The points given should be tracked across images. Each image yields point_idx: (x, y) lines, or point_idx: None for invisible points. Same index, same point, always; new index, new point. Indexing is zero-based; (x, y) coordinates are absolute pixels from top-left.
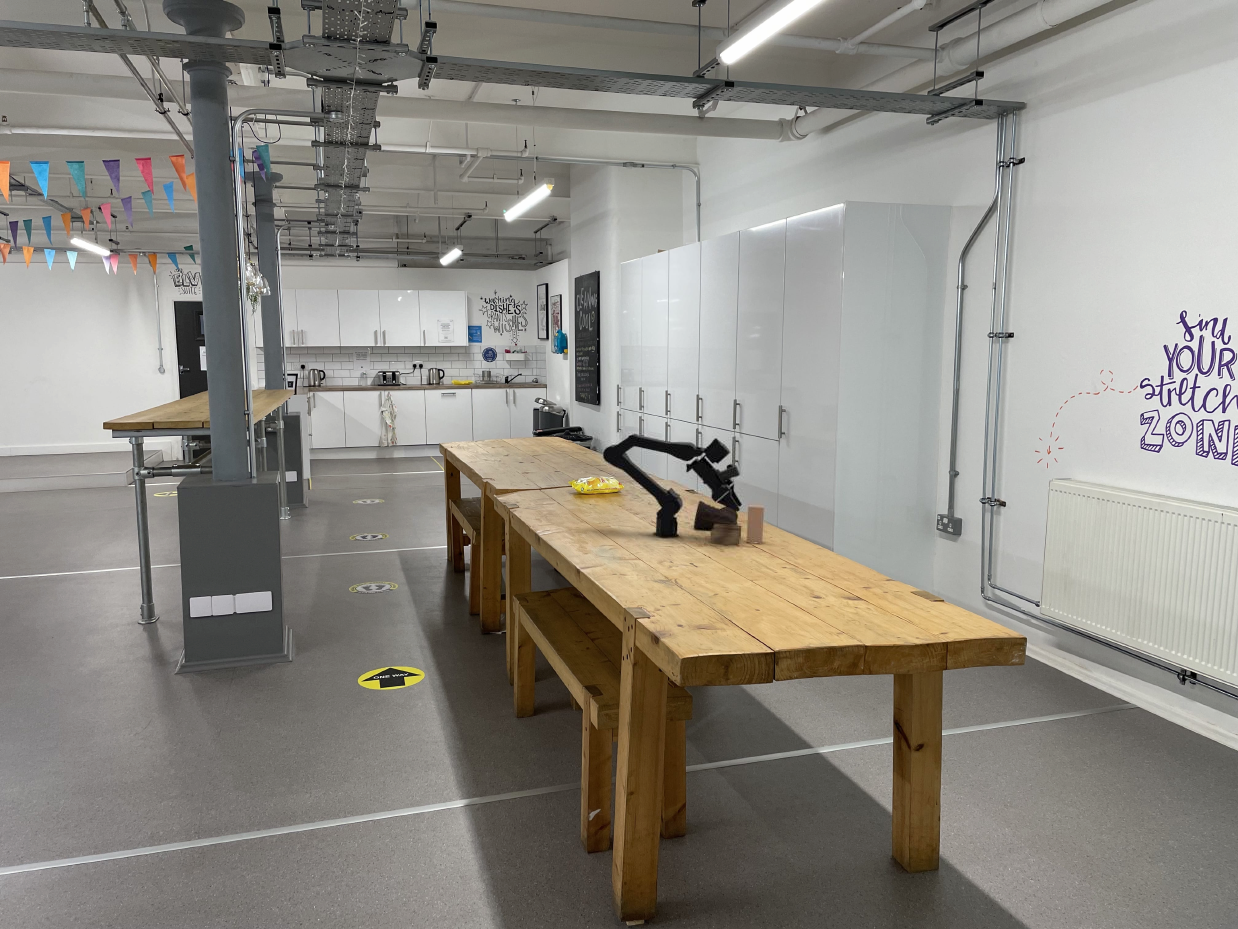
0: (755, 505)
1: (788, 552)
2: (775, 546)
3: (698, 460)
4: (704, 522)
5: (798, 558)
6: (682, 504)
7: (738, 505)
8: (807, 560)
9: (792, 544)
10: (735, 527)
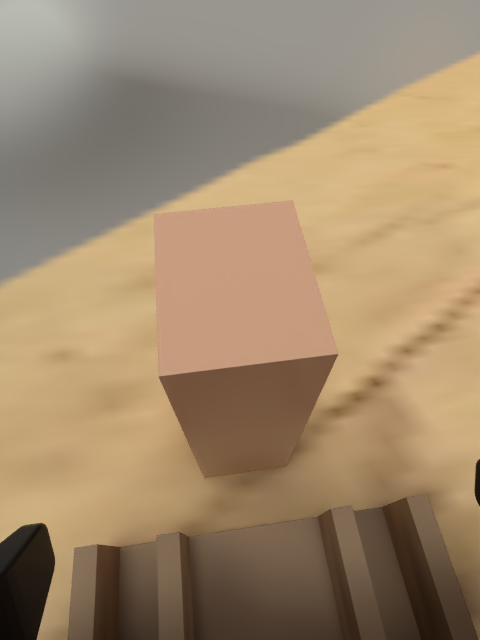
0: (190, 291)
1: (383, 238)
2: None
3: None
4: None
5: (464, 197)
6: None
7: (44, 589)
8: (470, 171)
9: None
10: (179, 589)
